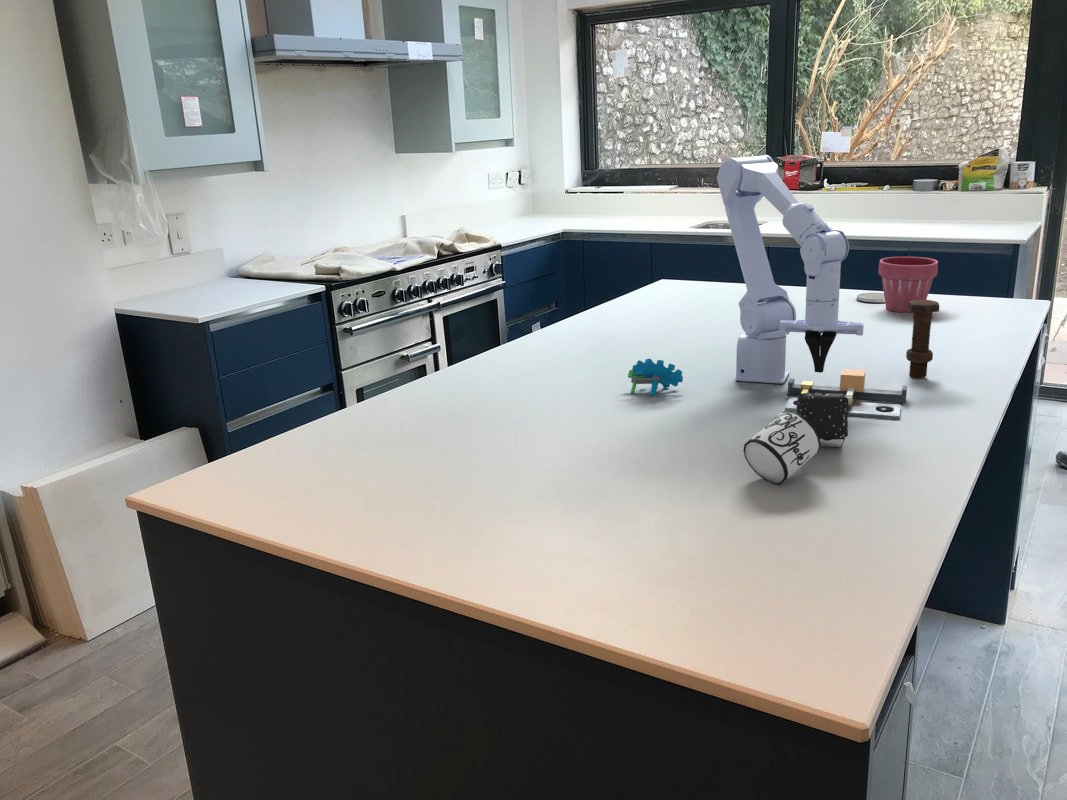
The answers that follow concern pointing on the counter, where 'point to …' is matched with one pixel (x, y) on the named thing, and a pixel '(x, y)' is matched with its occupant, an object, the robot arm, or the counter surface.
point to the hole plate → (861, 409)
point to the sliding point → (852, 382)
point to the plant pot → (906, 280)
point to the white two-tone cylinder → (798, 436)
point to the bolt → (921, 337)
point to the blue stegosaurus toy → (654, 375)
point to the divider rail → (863, 396)
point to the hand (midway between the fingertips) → (819, 371)
